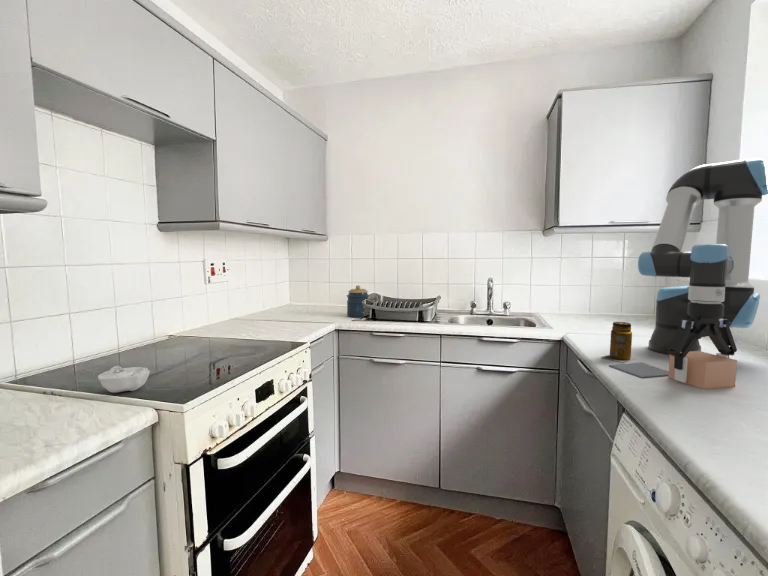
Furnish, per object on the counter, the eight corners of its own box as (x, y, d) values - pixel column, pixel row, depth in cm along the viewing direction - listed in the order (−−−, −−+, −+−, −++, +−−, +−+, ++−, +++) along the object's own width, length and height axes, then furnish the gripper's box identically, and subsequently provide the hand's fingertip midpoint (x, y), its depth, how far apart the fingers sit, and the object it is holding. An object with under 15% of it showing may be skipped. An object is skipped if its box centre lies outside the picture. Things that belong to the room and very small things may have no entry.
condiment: (636, 359, 129) (638, 323, 128) (623, 363, 124) (625, 326, 123) (613, 354, 135) (615, 320, 134) (600, 358, 130) (602, 322, 129)
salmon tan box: (697, 374, 112) (698, 350, 111) (735, 386, 102) (737, 360, 101) (668, 377, 110) (669, 352, 109) (704, 389, 100) (706, 362, 99)
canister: (344, 317, 217) (343, 286, 215) (350, 314, 229) (349, 284, 228) (367, 318, 215) (366, 286, 213) (371, 314, 227) (371, 284, 226)
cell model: (135, 398, 97) (133, 371, 96) (88, 398, 97) (86, 371, 96) (159, 384, 107) (158, 360, 106) (116, 384, 107) (115, 360, 107)
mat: (641, 363, 123) (641, 362, 123) (676, 375, 111) (676, 373, 111) (608, 366, 121) (608, 364, 121) (641, 378, 109) (641, 376, 109)
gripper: (680, 305, 98) (675, 387, 99) (758, 302, 103) (752, 380, 104) (654, 301, 105) (650, 378, 107) (727, 299, 110) (722, 372, 112)
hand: (700, 379), depth 106 cm, fingers open, 13 cm apart
